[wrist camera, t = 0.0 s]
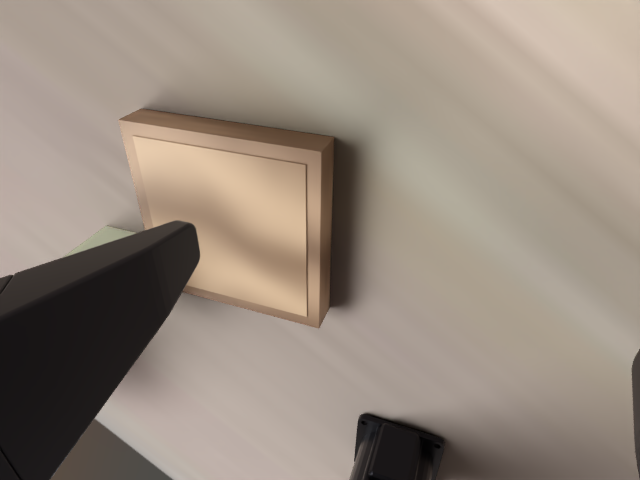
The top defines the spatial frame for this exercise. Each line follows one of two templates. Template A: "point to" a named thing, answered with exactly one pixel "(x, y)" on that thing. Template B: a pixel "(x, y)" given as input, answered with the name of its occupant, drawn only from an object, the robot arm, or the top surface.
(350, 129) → the top surface
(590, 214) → the top surface
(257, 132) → the base board
